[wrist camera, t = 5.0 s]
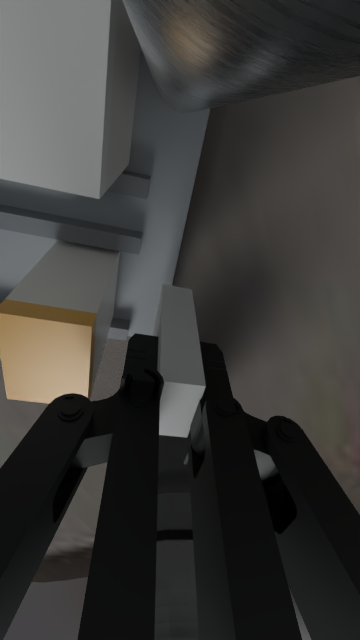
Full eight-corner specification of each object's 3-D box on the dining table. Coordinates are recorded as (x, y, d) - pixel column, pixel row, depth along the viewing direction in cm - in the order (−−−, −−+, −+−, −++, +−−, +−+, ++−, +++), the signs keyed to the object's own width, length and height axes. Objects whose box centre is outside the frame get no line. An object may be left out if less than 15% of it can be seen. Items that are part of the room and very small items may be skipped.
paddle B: (58, 148, 13) (-29, 172, 7) (56, 20, 11) (-71, -89, 5) (129, 164, 13) (99, 199, 8) (141, 44, 11) (113, -32, 5)
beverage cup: (136, 362, 24) (63, 924, 7) (224, 374, 25) (335, 889, 8) (125, 420, 28) (62, 869, 11) (201, 428, 29) (246, 850, 12)
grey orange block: (60, 306, 17) (7, 399, 11) (59, 238, 15) (-7, 311, 9) (113, 314, 18) (87, 407, 12) (120, 249, 15) (92, 326, 10)
